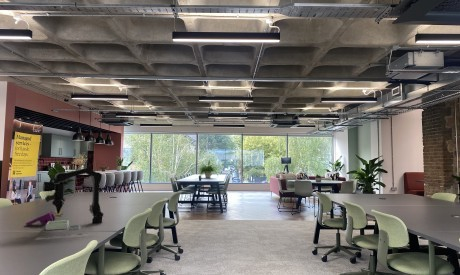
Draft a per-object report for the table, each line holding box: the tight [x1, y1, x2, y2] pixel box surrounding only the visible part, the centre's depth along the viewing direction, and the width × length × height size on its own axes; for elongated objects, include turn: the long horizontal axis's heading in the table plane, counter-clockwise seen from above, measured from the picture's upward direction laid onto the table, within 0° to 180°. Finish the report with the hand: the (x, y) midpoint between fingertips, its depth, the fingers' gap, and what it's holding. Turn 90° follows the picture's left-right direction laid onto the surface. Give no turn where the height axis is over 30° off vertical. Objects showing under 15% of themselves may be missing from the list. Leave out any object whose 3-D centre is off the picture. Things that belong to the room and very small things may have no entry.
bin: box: [45, 219, 70, 231], centre depth 226 cm, size 13×13×5 cm
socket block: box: [67, 224, 82, 231], centre depth 223 cm, size 8×8×3 cm
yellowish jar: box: [54, 207, 63, 218], centre depth 226 cm, size 4×4×9 cm
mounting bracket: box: [25, 210, 56, 227], centre depth 241 cm, size 9×8×18 cm
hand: (58, 213), depth 226 cm, fingers closed on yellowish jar, 4 cm apart
